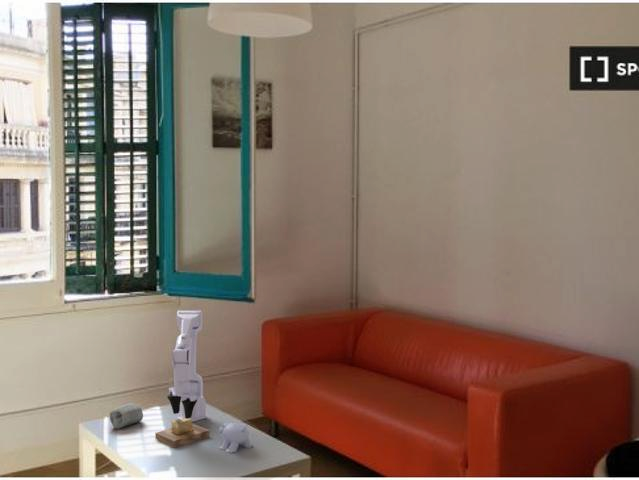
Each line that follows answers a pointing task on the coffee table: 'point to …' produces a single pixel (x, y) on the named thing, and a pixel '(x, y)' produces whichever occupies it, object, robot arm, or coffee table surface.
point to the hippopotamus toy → (234, 436)
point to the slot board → (182, 436)
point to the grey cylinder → (126, 415)
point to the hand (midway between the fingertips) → (182, 415)
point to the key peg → (181, 426)
